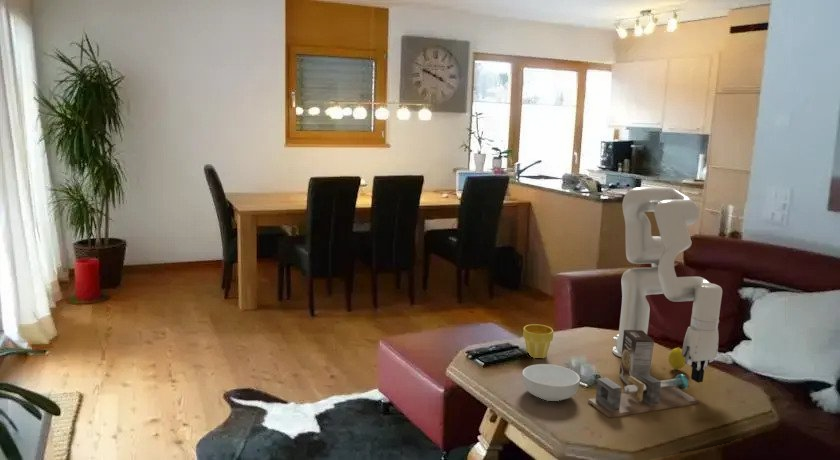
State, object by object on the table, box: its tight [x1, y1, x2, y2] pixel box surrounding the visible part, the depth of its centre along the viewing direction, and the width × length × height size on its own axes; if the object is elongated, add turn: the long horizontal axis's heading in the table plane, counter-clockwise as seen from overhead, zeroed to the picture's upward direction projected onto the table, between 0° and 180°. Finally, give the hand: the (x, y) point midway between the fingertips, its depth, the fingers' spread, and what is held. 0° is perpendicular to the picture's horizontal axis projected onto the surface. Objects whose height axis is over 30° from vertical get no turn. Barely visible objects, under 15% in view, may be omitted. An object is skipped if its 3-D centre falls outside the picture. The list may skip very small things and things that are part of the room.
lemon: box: [668, 346, 687, 371], centre depth 217 cm, size 6×6×8 cm
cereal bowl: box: [521, 363, 581, 402], centre depth 193 cm, size 17×17×7 cm
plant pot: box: [522, 323, 554, 359], centre depth 224 cm, size 10×10×10 cm
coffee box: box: [618, 330, 655, 386], centre depth 205 cm, size 9×6×16 cm
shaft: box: [623, 373, 690, 394], centre depth 192 cm, size 21×4×4 cm, turn 111°
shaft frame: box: [587, 372, 699, 419], centre depth 191 cm, size 32×10×8 cm, turn 111°
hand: (696, 380), depth 198 cm, fingers closed
